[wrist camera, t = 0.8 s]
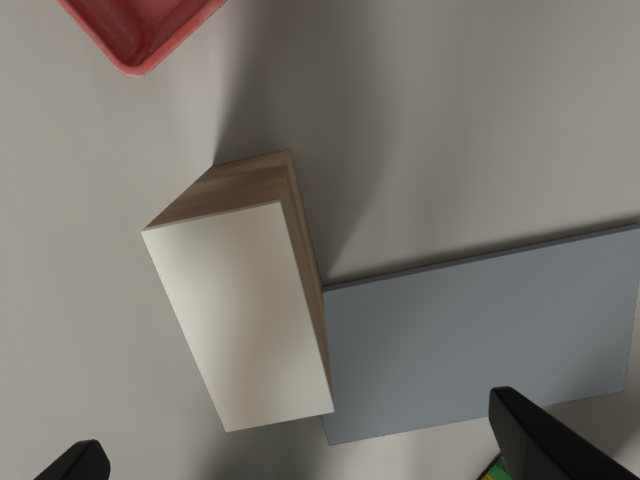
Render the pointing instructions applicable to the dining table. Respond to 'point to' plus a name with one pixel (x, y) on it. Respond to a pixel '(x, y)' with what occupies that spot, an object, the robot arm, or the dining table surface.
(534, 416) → the robot arm
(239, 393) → the block
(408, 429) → the mat
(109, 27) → the plant saucer
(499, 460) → the colorful printed box
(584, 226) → the dining table surface
